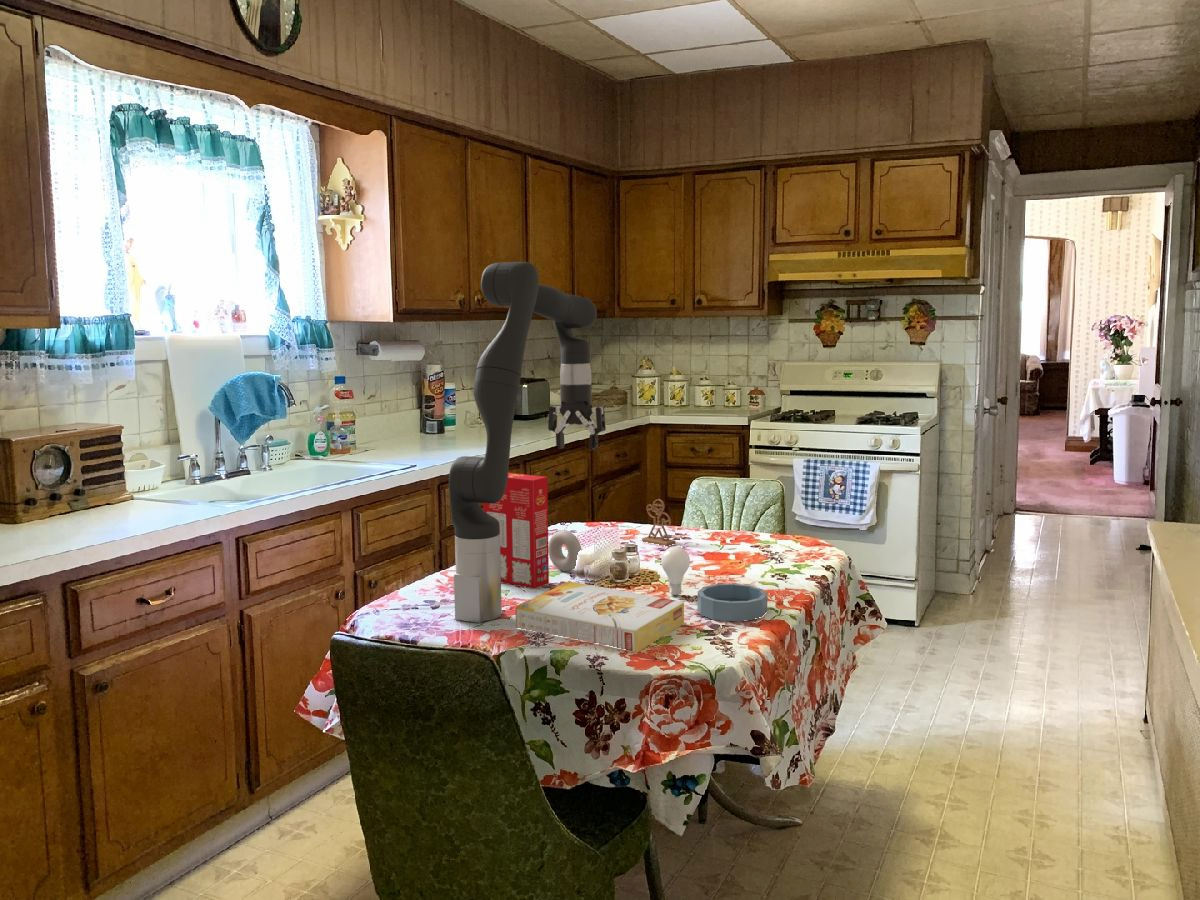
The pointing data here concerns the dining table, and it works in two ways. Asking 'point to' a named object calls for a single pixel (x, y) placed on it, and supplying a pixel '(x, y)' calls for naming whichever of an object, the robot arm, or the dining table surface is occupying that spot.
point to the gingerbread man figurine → (653, 538)
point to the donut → (556, 550)
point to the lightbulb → (675, 567)
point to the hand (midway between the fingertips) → (577, 449)
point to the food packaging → (523, 530)
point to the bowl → (732, 602)
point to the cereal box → (601, 615)
